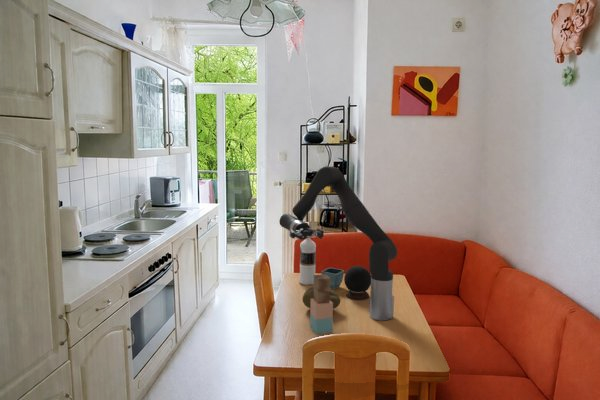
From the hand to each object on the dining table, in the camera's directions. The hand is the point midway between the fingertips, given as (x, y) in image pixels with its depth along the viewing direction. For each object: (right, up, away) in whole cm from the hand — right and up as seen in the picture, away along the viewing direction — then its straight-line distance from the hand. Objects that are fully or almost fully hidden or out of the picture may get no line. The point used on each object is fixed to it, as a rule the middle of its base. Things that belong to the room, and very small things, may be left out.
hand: (311, 236), depth 186 cm
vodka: (-1, -29, +50) cm, 58 cm away
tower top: (+4, -31, -8) cm, 32 cm away
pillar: (+4, -25, -9) cm, 27 cm away
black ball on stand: (+23, -32, +31) cm, 50 cm away
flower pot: (+12, -30, +43) cm, 53 cm away
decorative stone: (+5, -34, +12) cm, 36 cm away
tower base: (+4, -37, -8) cm, 37 cm away
